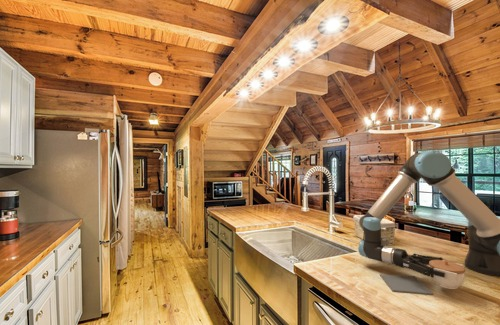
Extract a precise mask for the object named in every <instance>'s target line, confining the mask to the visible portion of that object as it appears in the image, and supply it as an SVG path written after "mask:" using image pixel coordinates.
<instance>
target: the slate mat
mask: <svg viewBox="0 0 500 325" xmlns="http://www.w3.org/2000/svg"><path fill="white" fill-rule="evenodd" d="M379 276H380V277H381V279H382V280H383V282H384V283H385V284H386V285H387V287H388V288H389V289H390V290H391V291H392V292H393V293H402V294H403V293H404V294H405V293H407V294H416V295H418V294H419V295H429V296H433V295H434V292H432V291H431V290H430V289H429V288H428V287H427V286H426V285H424V284H423V283H422V282H421V280H419V279H418V278H417V277H416V276H414V275H413V276H412V275H400V274H399V275H398V274H384V273H379Z"/></svg>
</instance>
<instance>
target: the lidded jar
mask: <svg viewBox="0 0 500 325" xmlns="http://www.w3.org/2000/svg"><path fill="white" fill-rule="evenodd" d="M443 260H444V259H443ZM443 260H431V261H429V265H428V266H429V267H431V268H433V269H434V268H437V269H441V270H445V271H449V272H453V273H457V282H456V281H452V280H449V279H445V278H442V277H438V276H434V278H432V279H433V280H434V281H435V283H437V285H438V286H440V287H442V288H444V289H448V290H457V289H458V288H459V287H461V286H463V285H464V284H463V283H464V282H465V278H466V276H465V274H466V273H465V272H466V269H465V266H463V267H462V266H461V265H462V264H461V265H459V264H460V263H457V262H452V261H448V260H446V259H445V260H444V261H443ZM456 263H457V264H456Z"/></svg>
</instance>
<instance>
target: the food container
mask: <svg viewBox="0 0 500 325" xmlns="http://www.w3.org/2000/svg"><path fill="white" fill-rule="evenodd" d="M381 245H385V246H390V245H389V241H388V239H387V238H385V237H381Z"/></svg>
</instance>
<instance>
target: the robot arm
mask: <svg viewBox="0 0 500 325" xmlns="http://www.w3.org/2000/svg"><path fill="white" fill-rule="evenodd" d="M397 173H398V174H397V176H396V177H395V178H394V179H393V181H392V182H391V183H389V185H388V187H386V189H385V190H384V192H382V194H381V195H380V196H379V198H378V199H377V200H376V201H375V203H374V204H372V206H371V207H370V208H369V209H368V211H367V212H366V213H365V214H363V215H364V216H362V217H361V218H360V220H359V224H360V227H361V228H362V229H363V231H364V240H360V242H359V243H358V248H357V250H358V253H359V255H361V256H362V257H365V258H367V259H371V260H374V261H378V262H382V263H386V264H387V265H392V266H393V265H394V266H396V267H399V268H403V269H404V268H405V269H409V270H411V271H414V272H417V273H419V274H421V275H424V276H426V277H430V278H431V279H433V278H434V276H438V277H442V278H445V279H449V280H452V281H456V282H457V273H453V272H449V271H445V270H441V269H437V268H434V269H433V268H431V267H430V265H429V261H431V260H443V261H445V260H444V259H443V257H438V256H437V257H436V256H429V255H425V254H423V255H422V254H418V253H412V254H411V255H409V254H408V252H407V250H406V249H402V248H397V247H393V246H391V245H388V246H385V245H381V220H382V219H383V218H384V219H385V217H386V216H387V215H388V213H390V211H391V210H392V208H394V206H395V205H396V204H397V203H398V201H400V200H401V198H402V197H403V196H404V194H406V193H407V191H408V190H409V189H410V188H411V187H412V185H413V184H417V183H418V182H419V181H420V180H421V179H422V180H423V181H424V182H425V183H426V184H428V186H430V187H435V188H436V189H437V190H438V191H439V192H440V193H441V194H442V195H443V196H444V197H445V198H446V199H447V200H448V201H449V202H450V203H451V204H452V205H453V207H455V208H456V209H457V210H458V211H459V212H460V213H461V214H462V216H464V217H465V218H466V219H467V220H468V222H467V223H468V225H467V229H468V230H467V232H468V251H467V254H466V256H465V259H464V264H461V263H457V262H455V263H456V264H459V265H461V266H462V267H466V268H467V269H469V270H472V271H473V272H477V273H480V274H484V275H488V276H493V277H500V218H499V217H498V216H497V215H496V214H495V213H494V212H493V211H492V210H491V209H490V208H489V207H488V206H487V205H486V204H484V202H483V201H482V200H480V199H479V197H478V196H476V195H475V194H474V192H473V191H472V190H470V188H469V187H468V186H467V185H466V184H465V183H463V181H461V180H460V178H459V177H458V176H456V169H455V168H454V167H453V166H452V162H451V160H450V158H449V157H448V155H446V154H444V153H442V152H440V151H435V150H427V151H423V152H416V153H414V154H412V155H411V156H409V158H408V159H406V161H405V162H404V163H403V165H402V166H401V168H400V169H399V170H398V171H397Z"/></svg>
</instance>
